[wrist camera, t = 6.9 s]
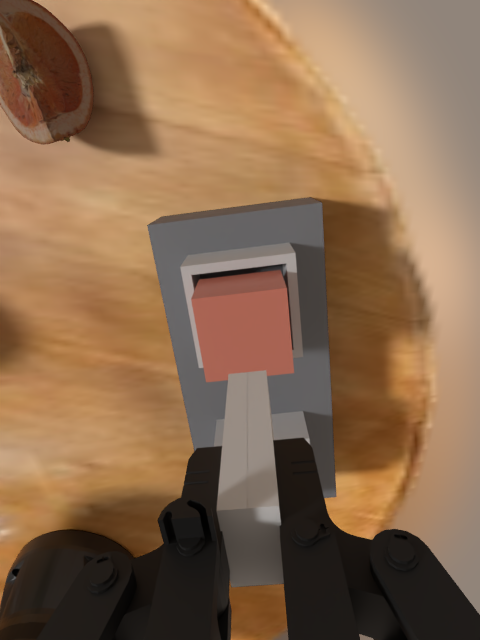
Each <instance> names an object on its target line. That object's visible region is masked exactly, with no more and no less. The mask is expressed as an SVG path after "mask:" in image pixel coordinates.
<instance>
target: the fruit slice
mask: <svg viewBox="0 0 480 640" xmlns="http://www.w3.org/2000/svg"><path fill="white" fill-rule="evenodd" d="M93 97H94V96H93V84H92V77H91V73H90V69H89V66H88V63H87V60H86V58H85V55H84V53H83V51H82V49H81V47H80V45H79V44H78V42H77V41H76V39H75V38H74V36H73V35H72V34H71V33H70V31H69V30H68V29H67V28H66V27H65V26H64V25H63V24H62V23H61V22H60V21H59V20H58V19H57V18H56V17H55V16H54V15H53V14H52V13H51V12H49V11H48V10H47V9H46V8H44V7H43V6H41V5H40V4H38V3H36V2H34V1H32V0H0V105H1V107H2V108H3V110H4V112H5V113H6V115H7V116H8V118H9V120H10V121H11V123H12V124H13V126H14V127H15V128H16V130H17V131H18V132H19V133H20V134H21V135H22V136H23V137H25V138H27V139H28V140H30V141H32V142H35V143H39V144H50V143H53V142H56V141H60V140H61V141H63V140H66V141H67V142H69V141H70V139H69V137H70V136H73V135H74V134H76V133H79V132H81V131H82V130H83V129H85V127H86V125H87V123H88V121H89V119H90V116H91V111H92V108H93Z"/></svg>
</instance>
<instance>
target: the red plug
mask: <svg viewBox="0 0 480 640" xmlns="http://www.w3.org/2000/svg"><path fill="white" fill-rule="evenodd" d="M191 302H192V307H193V313H194V318H195V324H196V329H197V335H198V340H199V346H200V351H201V357H202V363H203V368H204V374H205V379H206V382H215V381H224V380H228V375H229V374H234V373H244V372H254V371H264V370H266V372H267V376H271V375H281V374H290V373H294V365H293V354H292V342H291V330H290V319H289V307H288V296H287V287H286V284H285V281H284V279H283V276H282V273H281V270H274V271H265V272H257V273H249V274H241V275H232V276H224V277H216V278H208V279H199V281H198V283H197V286H196V288H195V291H194V293H193V296H192V298H191Z"/></svg>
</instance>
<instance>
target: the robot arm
mask: <svg viewBox="0 0 480 640" xmlns="http://www.w3.org/2000/svg"><path fill="white" fill-rule="evenodd" d="M158 523H159V527H160V531H161V534H162V538H163V542H164V544H163V545H162V546H160V547H159V548H158V549H156V550H154V551H152V552H150V553H148V554H145V555H143V556H140V557H137V558H135V559H134V558H133V556H132V555H131V554H130V553H129V552H128V551H127V550H125V549H124V548H123V547H121V546H120V545H119V544H117V543H115V542H113V541H111V540H109V539H107V538H105V537H102V536H100V535H97V534H93V533H89V532H83V531H73V530H65V531H56V532H51V533H47V534H44V535H41V536H39V537H37V538H35V539H33V540H31V541H30V542H29V543H27V544H26V545H25V546H24V547H23V549H22V550H21V551H20V553H19V555H18V556H17V558H16V560H15V561H14V563H13V565H12V567H11V569H10V571H9V573H8V576H7V579H6V583H5V587H4V592H3V596H2V600H1V605H0V640H230V639H231V605H230V599H229V580H230V582H231V587H243V586H258V585H273V584H284V591H285V602H286V614H287V626H288V638H289V640H360V637H359V634H362V635H365V636H368V637H371V638H373V639H374V640H480V615H479V613H477V611H476V609H475V608H474V607H473V606H472V604H471V603H470V602H469V600H468V599H467V598H466V596H465V595H464V594H463V592H462V591H461V590H460V589H459V587H458V586H457V585H456V583H455V582H454V580H453V579H452V578H451V577H450V575H449V574H448V573H447V571H446V570H445V569H444V567H443V566H442V565H441V563H440V562H439V561H438V559H437V558H436V557H435V556H434V554H433V553H432V552H431V550H430V549H429V548H428V546H427V545H425V543H424V542H423V541H421V540H420V539H419V538H418V537H416V536H414V535H412V534H411V533H409V532H407V531H402V530H398V529H391V530H384V531H382V532H380V533H379V534H377V535H376V536H375V537H374V539H373V540H370V539H365V538H361V537H356V536H353V535H350V534H348V533H346V532H344V531H342V530H341V529H339V528H338V527H337V526H336V525H335V524H334V523H333V522H332V520H331V519H330V517H329V515H328V512H327V509H326V504H325V500H324V496H323V491H322V487H321V483H320V478H319V474H318V470H317V465H316V462H315V457H314V452H313V448H312V447H311V445H310V444H309V443H308V442H307V441H306V440H305V439H304V437H303V438H292V439H281V440H274V435H273V425H272V417H271V408H270V399H269V390H268V381H267V372H266V370H264V371H254V372H244V373H234V374H229V375H228V386H227V397H226V409H225V420H224V431H223V443H222V446H215V447H204V448H197V449H196V450H195V452H194V453H193V454H192V456H191V457H190V459H189V461H188V466H187V471H186V476H185V481H184V486H183V491H182V496H181V498H179V499H177V500H175V501H173V502H171V503H170V504H168V506H167V507H166V508H165V509H164V510H163V511H162V512H161V514H160V516H159V518H158Z"/></svg>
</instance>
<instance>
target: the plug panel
mask: <svg viewBox="0 0 480 640" xmlns="http://www.w3.org/2000/svg"><path fill="white" fill-rule="evenodd" d="M147 226H148V231H149V235H150V240H151V245H152V250H153V255H154V259H155V264H156V269H157V274H158V279H159V283H160V288H161V293H162V298H163V303H164V307H165V312H166V317H167V322H168V327H169V331H170V336H171V341H172V346H173V351H174V355H175V360H176V365H177V370H178V375H179V379H180V384H181V389H182V394H183V399H184V403H185V408H186V413H187V418H188V423H189V427H190V432H191V437H192V442H193V447H194V451H195V450H196V449H197V448H204V447H215V446H222V443H223V431H224V420H225V409H226V397H227V386H228V380H224V381H215V382H206V379H205V374H204V368H203V363H202V357H201V351H200V346H199V340H198V335H197V329H196V324H195V318H194V313H193V307H192V302H191V298H192V296H193V293H194V291H195V288H196V286H197V283H198V281H199V279H208V278H216V277H224V276H232V275H241V274H249V273H257V272H265V271H274V270H281V273H282V276H283V279H284V281H285V284H286V287H287V296H288V307H289V319H290V330H291V342H292V354H293V365H294V373H290V374H281V375H271V376H267V381H268V390H269V399H270V408H271V417H272V425H273V435H274V440H281V439H292V438H303V437H304V439H305V440H306V441H307V442H308V443H309V444H310V445H311V447H312V448H313V452H314V457H315V462H316V465H317V470H318V474H319V478H320V483H321V487H322V491H323V496H324V498H329V497H336V481H335V460H334V440H333V419H332V399H331V378H330V357H329V337H328V316H327V295H326V275H325V254H324V233H323V213H322V202H320V201H317V200H315V199H313V198H311V197H309V198H301V199H293V200H286V201H278V202H270V203H263V204H255V205H247V206H240V207H232V208H224V209H216V210H209V211H201V212H193V213H186V214H178V215H170V216H163V217H160V218H159V219H157V220H155V221H154V222H152V223H150V224H149V225H147Z"/></svg>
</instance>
